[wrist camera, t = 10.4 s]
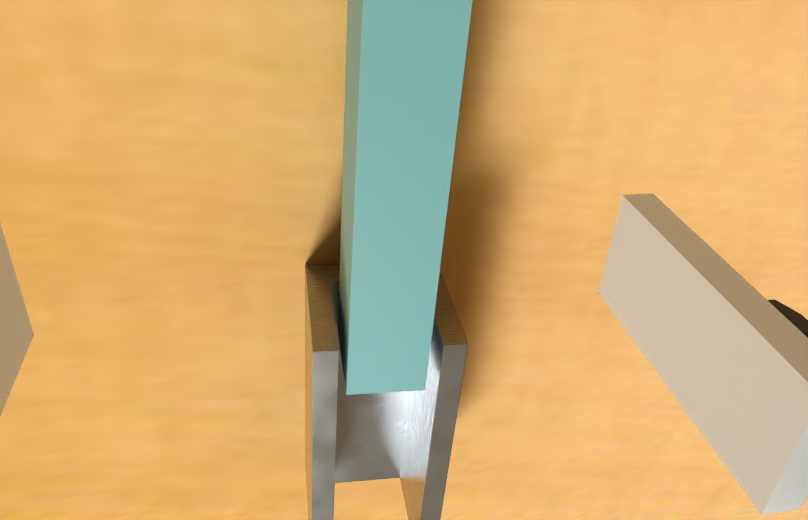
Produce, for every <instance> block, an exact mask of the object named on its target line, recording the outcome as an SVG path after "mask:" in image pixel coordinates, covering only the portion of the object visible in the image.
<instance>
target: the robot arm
mask: <svg viewBox="0 0 808 520" xmlns="http://www.w3.org/2000/svg"><path fill="white" fill-rule="evenodd" d="M598 293H599V295H600V296H601V298H602V299H603V300H604V302H605V303H606V304H607V306H608V307H609V308H610V310H611V311H612V312H613V314H614V315H615V317H616V318H617V319H618V321H619V322H620V323H621V325H622V326H623V327H624V329H625V330H626V331H627V333H628V334H629V336H630V337H631V338H632V340H633V341H634V342H635V344H636V345H637V346H638V348H639V349H640V351H641V352H642V353H643V355H644V356H645V357H646V359H647V360H648V361H649V363H650V364H651V365H652V367H653V368H654V370H655V371H656V372H657V374H658V375H659V376H660V378H661V379H662V380H663V382H664V383H665V385H666V386H667V387H668V389H669V390H670V391H671V393H672V394H673V395H674V397H675V398H676V399H677V401H678V402H679V404H680V405H681V406H682V408H683V409H684V410H685V412H686V413H687V414H688V416H689V417H690V418H691V420H692V421H693V423H694V424H695V425H696V427H697V428H698V429H699V431H700V432H701V433H702V435H703V436H704V438H705V439H706V440H707V442H708V443H709V444H710V446H711V447H712V448H713V450H714V451H715V452H716V454H717V455H718V457H719V458H720V459H721V461H722V462H723V463H724V465H725V466H726V467H727V469H728V470H729V472H730V473H731V474H732V476H733V477H734V478H735V480H736V481H737V482H738V484H739V485H740V486H741V488H742V489H743V491H744V492H745V493H746V495H747V496H748V497H749V499H750V500H751V501H752V503H753V504H754V505H755V507H756V508H757V510H758V511H759V512H760V514H761V515H764V514H771V513H778V512H785V511H792V510H799V509H801V507H802V505H803V504H804V502H805V500H806V498H807V496H808V320H807V319H806V318H804V317H803V316H802V315H801V314H799V313H798V312H796V311H794V310H792V309H791V308H789V307H787V306H785V305H783V304H782V303H780V302H778V301H776V300H767V299H765V298H764V297H763V296H762V295H761V294H760V293H759V292H758V291H757V290H756V289H755V288H754V287H753V286H751V285H750V284H749V283H748V282H747V281H746V280H745V279H744V278H743V277H742V276H741V275H740V274H739V273H738V272H736V271H735V270H734V269H733V268H732V267H731V266H730V265H729V264H728V263H727V262H726V261H725V260H724V259H723V258H721V257H720V256H719V255H718V254H717V253H716V252H715V251H714V250H713V249H712V248H711V247H710V246H709V245H707V244H706V243H705V242H704V241H703V240H702V239H701V238H700V237H699V236H698V235H697V234H696V233H695V232H694V231H692V230H691V229H690V228H689V227H688V226H687V225H686V224H685V223H684V222H683V221H682V220H681V219H680V218H678V217H677V216H676V215H675V214H674V213H673V212H672V211H671V210H670V209H669V208H668V207H667V206H666V205H665V204H663V203H662V202H661V201H660V200H659V199H658V198H657V197H656V196H655V195H654V194H635V195H622V199H621V203H620V207H619V211H618V215H617V219H616V223H615V227H614V232H613V236H612V240H611V244H610V248H609V252H608V256H607V260H606V264H605V268H604V272H603V276H602V280H601V284H600V288H599V292H598ZM33 335H34V334H33V330H32V327H31V324H30V320H29V317H28V314H27V311H26V307H25V304H24V301H23V297H22V294H21V291H20V287H19V284H18V281H17V278H16V274H15V271H14V268H13V264H12V261H11V258H10V254H9V251H8V248H7V244H6V241H5V238H4V235H3V231H2V228H1V225H0V416H1V413H2V411H3V408H4V406H5V403H6V401H7V398H8V396H9V394H10V391H11V389H12V386H13V384H14V381H15V379H16V377H17V374H18V372H19V369H20V367H21V364H22V362H23V360H24V357H25V355H26V352H27V350H28V347H29V345H30V342H31V340H32V338H33Z"/></svg>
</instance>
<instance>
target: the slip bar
mask: <svg viewBox="0 0 808 520" xmlns="http://www.w3.org/2000/svg"><path fill="white" fill-rule="evenodd" d="M472 2H473V0H348V14H347V46H346V79H345V112H344V145H343V177H342V210H341V243H340V276H339V309H338V338H339V345H340V352H341V360H342V367H343V374H344V381H345V388H346V395H353V394H369V393H386V392H402V391H419V390H425V388H426V379H427V371H428V363H429V355H430V347H431V338H432V330H433V322H434V314H435V306H436V297H437V289H438V281H439V273H440V264H441V256H442V248H443V240H444V232H445V223H446V215H447V207H448V199H449V191H450V182H451V174H452V166H453V158H454V150H455V141H456V133H457V125H458V117H459V108H460V100H461V92H462V84H463V76H464V67H465V59H466V51H467V43H468V35H469V26H470V18H471V10H472Z"/></svg>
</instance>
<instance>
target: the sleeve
mask: <svg viewBox="0 0 808 520" xmlns="http://www.w3.org/2000/svg"><path fill="white" fill-rule="evenodd" d="M339 276H340V264H314V265H305V466H306V483H307V500H308V517H309V520H333V517H334V486H335V483H340V482H352V481H364V480H376V479H388V478H400V480H401V485H402V490H403V495H404V500H405V505H406V509H407V514H408V519H409V520H440V518H441V512H442V506H443V499H444V493H445V487H446V480H447V474H448V468H449V461H450V455H451V449H452V442H453V436H454V430H455V423H456V417H457V411H458V404H459V398H460V392H461V385H462V379H463V373H464V366H465V360H466V354H467V347H468V343H467V341H466V338H465V335H464V333H463V330H462V328H461V325H460V322H459V320H458V317H457V315H456V312H455V309H454V307H453V304H452V302H451V299H450V296H449V294H448V291H447V289H446V286H445V283H444V281H443V278H442V276H441V273H439V281H438V289H437V297H436V306H435V314H434V322H433V330H432V338H431V347H430V355H429V363H428V371H427V379H426V388H425V390H419V391H402V392H386V393H369V394H353V395H346V388H345V381H344V374H343V367H342V360H341V352H340V345H339V338H338V309H339Z"/></svg>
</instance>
